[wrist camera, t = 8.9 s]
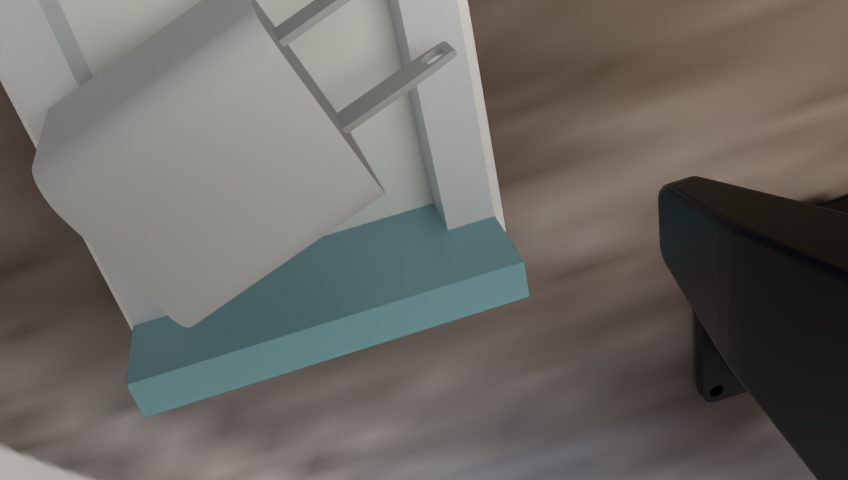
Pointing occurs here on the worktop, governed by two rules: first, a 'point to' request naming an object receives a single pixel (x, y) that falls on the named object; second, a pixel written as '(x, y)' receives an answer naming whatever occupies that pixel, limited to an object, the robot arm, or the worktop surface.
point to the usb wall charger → (211, 154)
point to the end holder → (344, 245)
